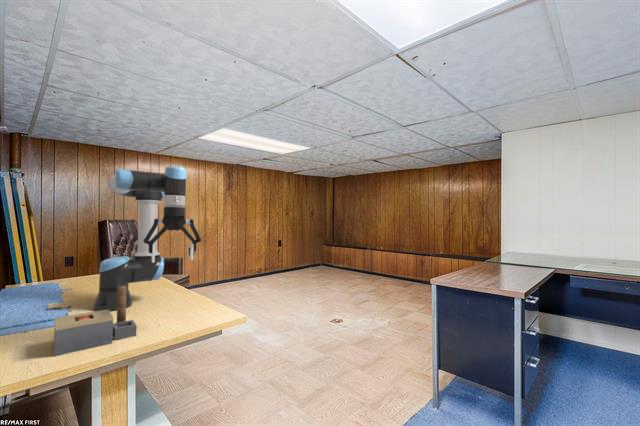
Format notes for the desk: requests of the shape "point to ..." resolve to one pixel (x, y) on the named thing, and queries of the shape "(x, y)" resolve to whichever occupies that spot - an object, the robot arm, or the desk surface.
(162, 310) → the desk surface
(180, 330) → the desk surface
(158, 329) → the desk surface
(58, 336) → the hollow box
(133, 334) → the holder
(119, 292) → the brown rounded rod
